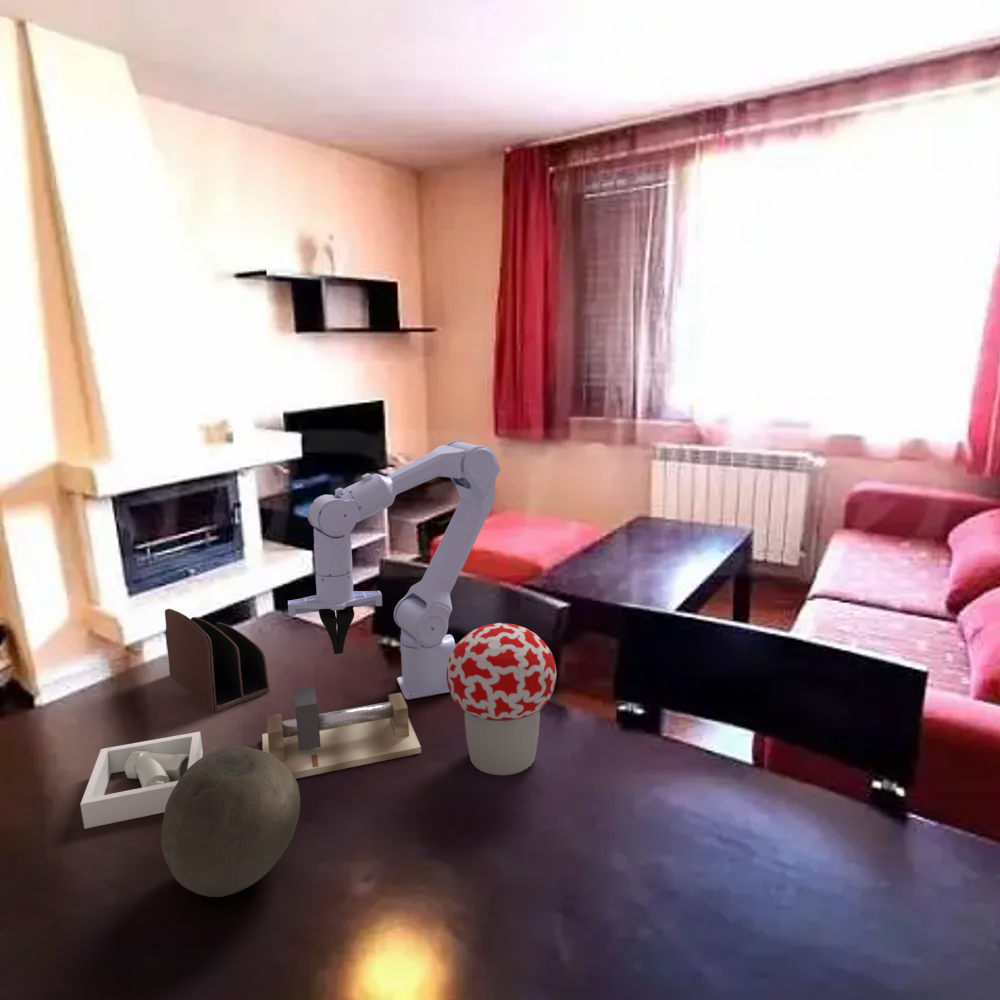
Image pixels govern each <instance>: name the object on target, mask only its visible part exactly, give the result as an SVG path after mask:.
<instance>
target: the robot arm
mask: <svg viewBox="0 0 1000 1000" xmlns="http://www.w3.org/2000/svg"><path fill="white" fill-rule="evenodd" d="M500 471H501V467H500V464H499V461H498V459H497V457H496V454H495V453H494V451H493V450H492V448H490V447H488V446H485V445H477V444H472V443H468V442H465V441H463V440H458V439H455V440H451V441H450V442H448V443H447V444H442V445H440V446H437V447H436V448H434V449H433V450H431V452H428V453H426V454H425V455H422V456H421V457H420V458H418V459H416V460H414V461H413V462H410V463H409V464H407V465H404V466H402V467H401V468H399V469H398V470H396V471H394V472H392V473H390V474H388V475H387V476H385V475H381V474H379V473H374V474H371V473H368V472H367V473H365V474H363V475H361V480H360V481H357V482H355V483H353V484H350V485H348V486H347V487H345V488H342V487H338V488H336V489H334V495H333V494H323V495H319V496H318V497H316V498H315V499H314V500H313V503H311V504H310V505H309V506H310V507H309V509H308V512H306V517H307V519H308V522H309V523H310V524H309V525H311V526H312V527H313V543H314V544H313V550H314V553H313V555H314V565H315V567H314V572H315V585H316V595H311V596H305V597H302V598H298V599H292V600H287V606H288V607H287V611H288V616H289V617H296V616H297V615H298V614H299V615H300V614H309V613H315V612H317V613H318V615H319V619H320V621H321V623H322V624H323V626H324V628H325V630H326V631H327V634H328V635H329V638H330V641H331V644H332V651H333V654H334V655H340V654H343V653H344V648H345V647H344V646H345V641H346V638H347V634H348V631H349V628H350V626H351V624H352V622H353V620H354V618H355V610H354V608H361V607H369V606H375V607H382V606H383V594H382V592H381V591H380V590H372V591H370V590H369V591H366V590H365V591H359V590H358V591H357V590H355V591H354V575H353V555H352V553H353V552H352V550H353V549H352V541H351V540H352V538H351V532H352V531H353V529H354V528H355V526H356V523H359V522H361V521H363V520H365V519H367V518H369V517H371V516H373V515H375V514H377V513H379V512H381V511H383V510H385V509H387V508H389V507H391V506H393V504H394V501H395V498H396V496H397V495H399V494H401V493H403V492H406V491H408V490H410V489H412V488H415V487H417V486H418V485H421V484H423V483H426V482H428V481H430V480H433V479H435V478H437V477H442V478H443V477H444V478H450V479H451V481H452V482H453V484H454V485H455V488H456V490H457V492H458V496H459V498H460V501H459V502H458V505H457V507H456V509H455V511H454V513H453V515H452V517H451V518H450V522H449V524H448V525H447V527H446V529H445V532H444V533H443V535H442V537H441V539H440V541H439V544H438V545H437V548H436V550H435V551H434V554H433V556H432V558H431V560H430V562H429V564H428V566H427V568H426V571H425V572H424V575H422V576H423V577H422V578H421V580H420V581H418V582H417V583H415V584H413V585H412V586H410V588H409V589H408V591H407V593H406V594H405V595H404V597H403V598H401V599H400V600H399V601H398V602H397V604H396V606H395V608H394V611H393V619H394V622H395V623H396V625H397V626H398V627H399V628H400V633H401V634H400V655H401V656H400V659H401V660H400V661H401V674H402V675H401V676H399V677H397V678H396V681H397V684H398V686H399V687H400V690H401V693H402V695H403V698H404V700H413V699H419V698H423V697H430V696H435V695H440V694H445V693H450V691H449V688H448V684H447V678H446V676H447V664H448V661H449V658H450V655H451V653H452V651H453V650H454V648H455V646H456V645H457V644H456V642H455V639H454V636H453V635H452V634H449V633H448V629H449V619H450V616H451V614H452V612H453V606H452V600H451V593H452V590H453V588H454V586H455V584H456V582H457V581H458V579H459V575H460V574H461V571H462V570H463V568H464V566H465V564H466V562H467V559H468V557H469V555H470V553H471V551H472V549H473V547H474V546H475V543H476V541H477V538H478V536H479V534H480V533H481V530H482V529H483V526H484V524H485V522H486V520H487V519H488V516H489V514H490V512H491V510H492V508H493V506H494V502H495V494H496V479H497V477H498V475H499V473H500ZM447 633H448V634H447Z"/></svg>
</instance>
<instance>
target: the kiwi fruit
mask: <svg viewBox="0 0 1000 1000" xmlns="http://www.w3.org/2000/svg"><path fill="white" fill-rule="evenodd" d="M300 794H301V793H300V789H299V784H298V781H297V780H296V779H295V778H294V776H293V775H292V773H291V772H290V770H289V769H288V767H287V766H286V765H285V764H284V763H283V762H281V761H280V760H279V759H277V758H276V757H274V756H272V755H271V754H269V753H267V752H264V751H263V750H261V749H259V748H258V749H257V748H252V747H248V746H244V745H233V746H225V747H222V748H219V749H215V750H214V751H211V752H209V753H207V754H205V755H204V756H202V758H201V759H199V760H198V761H196V762H195V763H194V764H193V765H192V766H190V767H189V768H188V769H187V770H186V772H185V773H184V774H183V775H182V777H181V778H180V779H179V781H178V783H177V784H176V786H175V788H174V789H173V791H172V793H171V795H170V797H169V799H168V801H167V804H166V807H165V812H163V814H164V815H163V820H162V826H161V833H160V834H161V835H160V845H161V851H162V855H163V857H164V860H165V862H166V864H167V866H168V868H169V871H170V873H171V874H172V877H174V879H175V880H176V881H177V882H178V883H179V884H180V885H181V886H182V887H184V888H185V889H187V890H189V891H191V892H192V893H195V894H197V895H199V896H200V895H201V896H205V897H208V898H209V897H210V898H221V897H228V896H231V895H233V894H236V893H239V892H241V891H243V890H246V889H247V888H249V887H251V886H253V885H254V884H255V883H257V882H259V880H261V879H262V878H264V876H266V875H267V874H268V873H269V872H270V871H271V870H272V868H274V866H275V865H277V862H278V861H279V860H280V859H281V858H282V857H283V855H284V853H286V850H287V849H288V847H289V846H290V843H291V842H292V839H293V838H294V835H295V832H296V828H297V824H298V821H299V817H300V810H301V795H300Z"/></svg>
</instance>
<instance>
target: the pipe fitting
mask: <svg viewBox="0 0 1000 1000" xmlns="http://www.w3.org/2000/svg"><path fill="white" fill-rule="evenodd" d="M188 762H189V754H178V755H171V754H158V753H149V751H135V752H132V753H131V754H130V755H129V757H128V759H127V761H126V764H125V771H124V772H125V776H126V777H127V779H133V780H135V779H138V780H139V782H140V785H141V788H143V787H148V786H154V785H159V784H164V783H169V782H174V781H179V779H180V778H181V777H182V775H183V774H184V773H185V772H186V770H187V768H188Z"/></svg>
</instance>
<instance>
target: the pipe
mask: <svg viewBox="0 0 1000 1000" xmlns="http://www.w3.org/2000/svg"><path fill="white" fill-rule="evenodd" d="M388 718H393V706H392V702H391V701H390V702H389V701H386V702H381V703H380V702H379V703H373V704H369V705H363V706H357V707H356V706H355V707H351V708H346V709H341V710H336V711H335V710H334V711H328V712H323V713H318V719H319V731H323V730H328V729H334V728H339V727H345V726H350V725H355V724H361V723H366V722H372V721H377V720H382V719H388ZM282 730H283V738H285V737H291V736H296V735H298V732H297V721H296V717H295V718H290V719H284V720H282Z"/></svg>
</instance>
